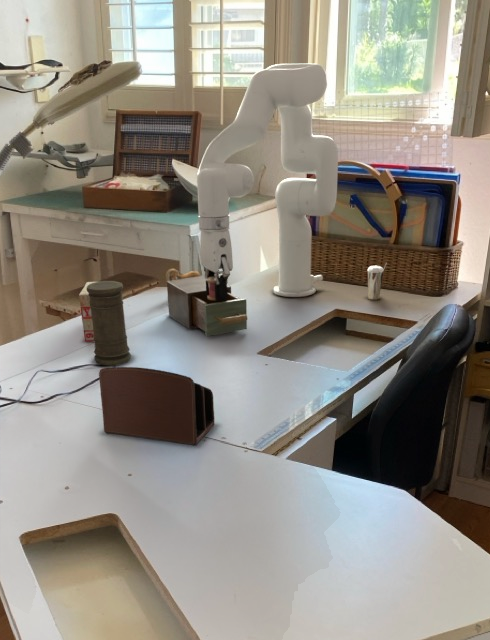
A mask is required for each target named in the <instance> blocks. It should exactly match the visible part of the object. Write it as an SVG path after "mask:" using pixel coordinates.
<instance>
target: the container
mask: <svg viewBox="0 0 490 640" xmlns="http://www.w3.org/2000/svg"><path fill="white" fill-rule="evenodd" d="M94 282H95V283H91V284H89V285H88V286H87V292H88V293H89V294H88V295H89V298H90V307H91V315H92V323H93V331H94V341H93V343H94V350H93V353H94V355H93V359H94V362H95V363H96V364H97V365H100V366H106V367H116V366H120V365H124V364H127V363H128V362H130V360H131V358H132V355H131V352H130V351H131V349H130V347H129V346H128V344H129V343H128V336H127V330H126V320H125V311H124V301H123V293H124V292H123V289H124V285H123V283H122V282H120V281H115V280H102V281H94Z"/></svg>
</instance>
